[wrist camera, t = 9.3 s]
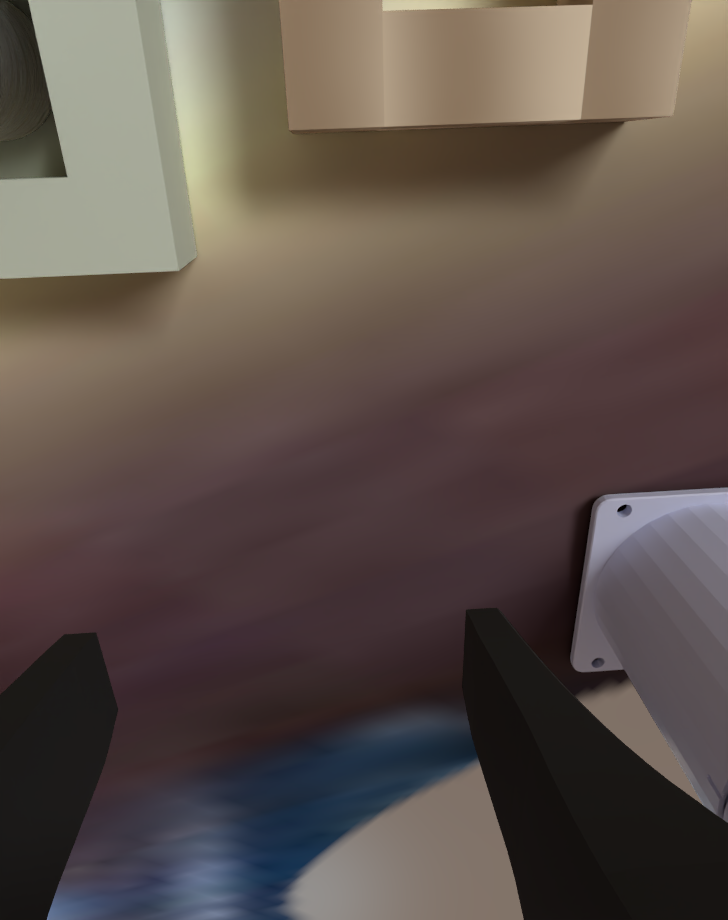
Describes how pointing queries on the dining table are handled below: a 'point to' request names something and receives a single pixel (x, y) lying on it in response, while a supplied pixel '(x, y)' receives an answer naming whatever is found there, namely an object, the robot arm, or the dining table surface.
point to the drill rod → (20, 76)
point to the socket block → (479, 64)
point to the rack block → (102, 150)
